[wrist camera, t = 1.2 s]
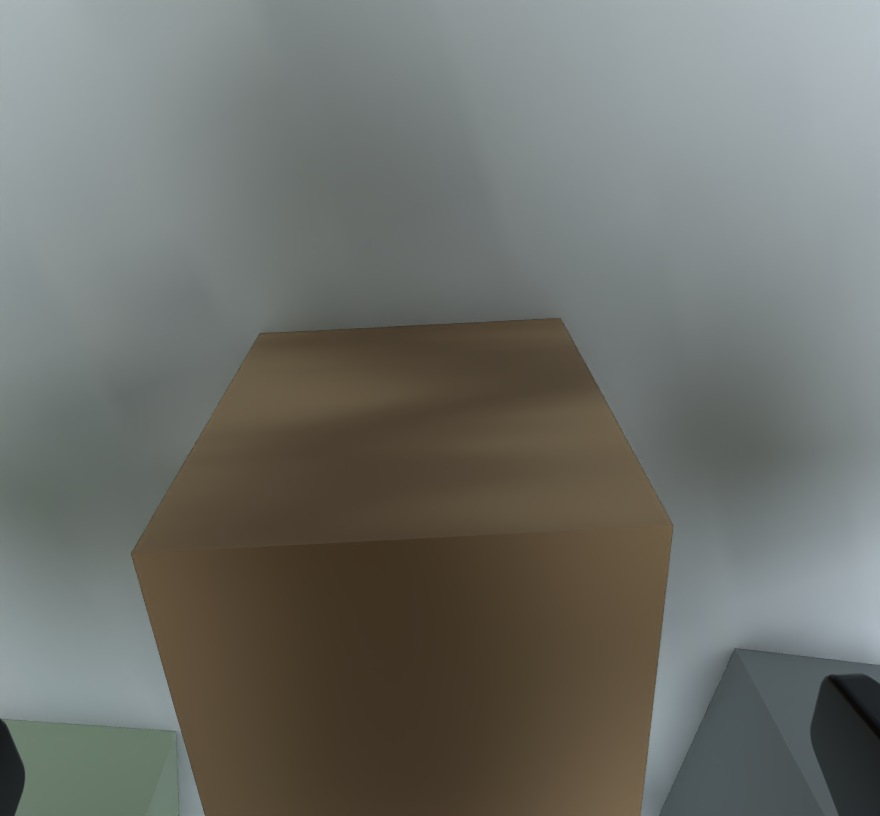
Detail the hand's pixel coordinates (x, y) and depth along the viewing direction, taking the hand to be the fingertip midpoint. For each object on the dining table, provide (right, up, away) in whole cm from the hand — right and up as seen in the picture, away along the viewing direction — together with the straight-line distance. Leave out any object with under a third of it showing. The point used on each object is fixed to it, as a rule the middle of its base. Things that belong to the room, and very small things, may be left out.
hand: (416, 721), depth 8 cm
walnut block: (0, +3, +5) cm, 6 cm away
